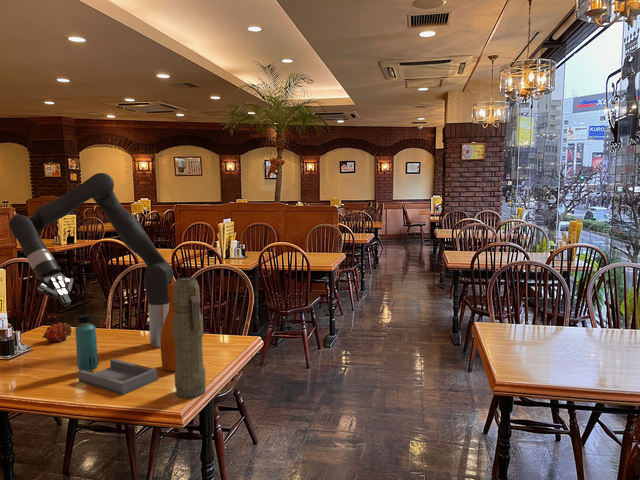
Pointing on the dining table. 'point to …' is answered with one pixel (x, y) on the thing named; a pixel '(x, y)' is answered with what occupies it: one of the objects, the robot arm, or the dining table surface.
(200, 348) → the thermos
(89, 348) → the beverage bottle
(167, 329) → the wine bottle
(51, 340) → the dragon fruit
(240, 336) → the dining table surface
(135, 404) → the dining table surface
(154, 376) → the U-rest
